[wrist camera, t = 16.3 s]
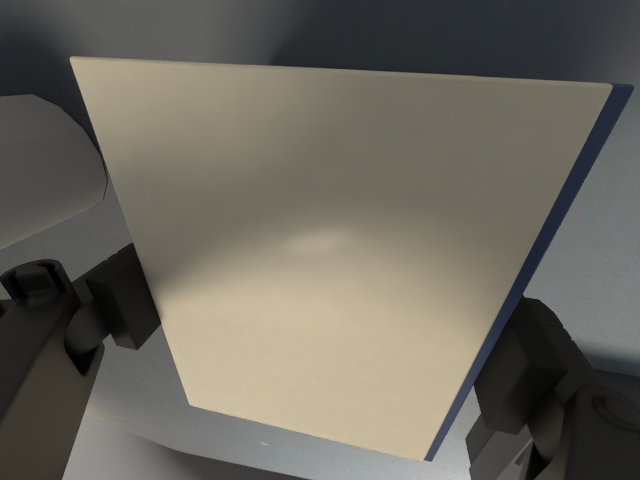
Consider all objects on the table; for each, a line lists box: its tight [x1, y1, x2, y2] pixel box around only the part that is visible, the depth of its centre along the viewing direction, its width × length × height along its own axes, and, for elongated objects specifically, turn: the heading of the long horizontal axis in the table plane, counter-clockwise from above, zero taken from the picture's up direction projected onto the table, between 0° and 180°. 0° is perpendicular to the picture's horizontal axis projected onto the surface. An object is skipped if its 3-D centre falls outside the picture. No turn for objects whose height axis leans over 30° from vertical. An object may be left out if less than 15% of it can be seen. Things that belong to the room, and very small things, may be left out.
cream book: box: [70, 56, 634, 462], centre depth 10 cm, size 10×13×2 cm
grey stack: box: [465, 369, 640, 480], centre depth 22 cm, size 9×13×5 cm, turn 178°
